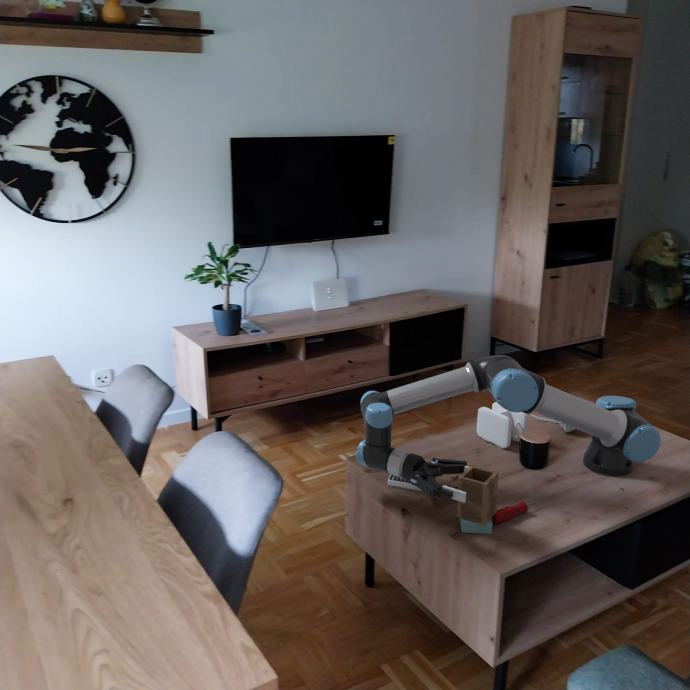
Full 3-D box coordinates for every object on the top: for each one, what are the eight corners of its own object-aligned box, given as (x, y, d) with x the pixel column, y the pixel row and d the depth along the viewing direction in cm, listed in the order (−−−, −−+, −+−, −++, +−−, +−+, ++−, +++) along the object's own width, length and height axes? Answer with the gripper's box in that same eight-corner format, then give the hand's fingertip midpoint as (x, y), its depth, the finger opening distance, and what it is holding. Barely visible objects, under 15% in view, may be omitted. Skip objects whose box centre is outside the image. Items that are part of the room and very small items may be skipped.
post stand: (488, 517, 197) (490, 489, 195) (491, 533, 190) (494, 504, 187) (459, 516, 198) (461, 487, 195) (461, 532, 190) (463, 502, 188)
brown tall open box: (469, 503, 198) (470, 465, 195) (496, 511, 194) (498, 472, 190) (457, 517, 192) (458, 477, 188) (484, 525, 188) (486, 485, 184)
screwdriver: (559, 502, 206) (561, 491, 205) (496, 527, 193) (497, 515, 192) (550, 496, 209) (551, 486, 208) (487, 521, 196) (488, 509, 195)
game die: (572, 442, 252) (588, 428, 245) (550, 434, 252) (566, 420, 244) (572, 422, 258) (587, 408, 251) (551, 414, 257) (565, 400, 250)
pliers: (548, 406, 271) (579, 420, 259) (548, 410, 271) (579, 424, 259) (530, 412, 266) (561, 426, 254) (529, 416, 266) (560, 430, 254)
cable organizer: (473, 436, 248) (476, 405, 245) (494, 428, 254) (497, 398, 251) (506, 451, 237) (509, 419, 233) (527, 443, 243) (530, 412, 239)
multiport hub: (435, 494, 210) (435, 487, 209) (387, 486, 214) (387, 480, 214) (437, 487, 214) (438, 480, 213) (391, 480, 218) (391, 473, 218)
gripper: (426, 460, 212) (493, 481, 201) (383, 495, 192) (455, 519, 181) (428, 438, 210) (495, 457, 198) (384, 470, 190) (456, 493, 179)
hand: (476, 487), depth 189 cm, fingers open, 13 cm apart
